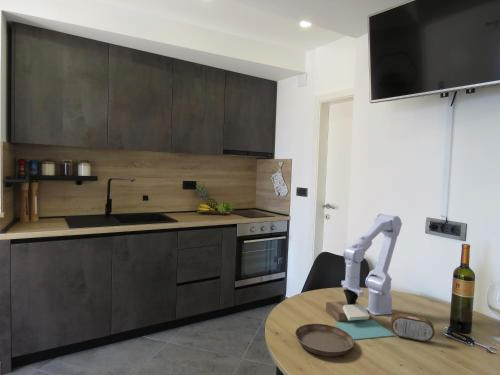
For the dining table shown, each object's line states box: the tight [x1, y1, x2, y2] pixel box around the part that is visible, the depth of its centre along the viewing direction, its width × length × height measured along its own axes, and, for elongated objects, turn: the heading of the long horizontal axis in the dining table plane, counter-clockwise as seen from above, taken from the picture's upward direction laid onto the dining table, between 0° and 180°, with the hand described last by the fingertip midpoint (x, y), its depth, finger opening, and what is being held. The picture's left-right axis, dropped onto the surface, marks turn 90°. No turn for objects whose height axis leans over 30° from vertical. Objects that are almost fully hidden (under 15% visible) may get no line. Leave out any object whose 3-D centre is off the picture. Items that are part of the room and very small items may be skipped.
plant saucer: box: [294, 323, 355, 357], centre depth 121 cm, size 21×21×3 cm
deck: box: [325, 300, 370, 322], centre depth 146 cm, size 14×12×4 cm
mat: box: [334, 319, 396, 341], centre depth 134 cm, size 18×14×1 cm
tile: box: [343, 303, 371, 320], centre depth 139 cm, size 9×6×2 cm, turn 103°
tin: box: [390, 313, 435, 343], centre depth 127 cm, size 15×3×8 cm, turn 71°
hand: (351, 307), depth 143 cm, fingers closed
